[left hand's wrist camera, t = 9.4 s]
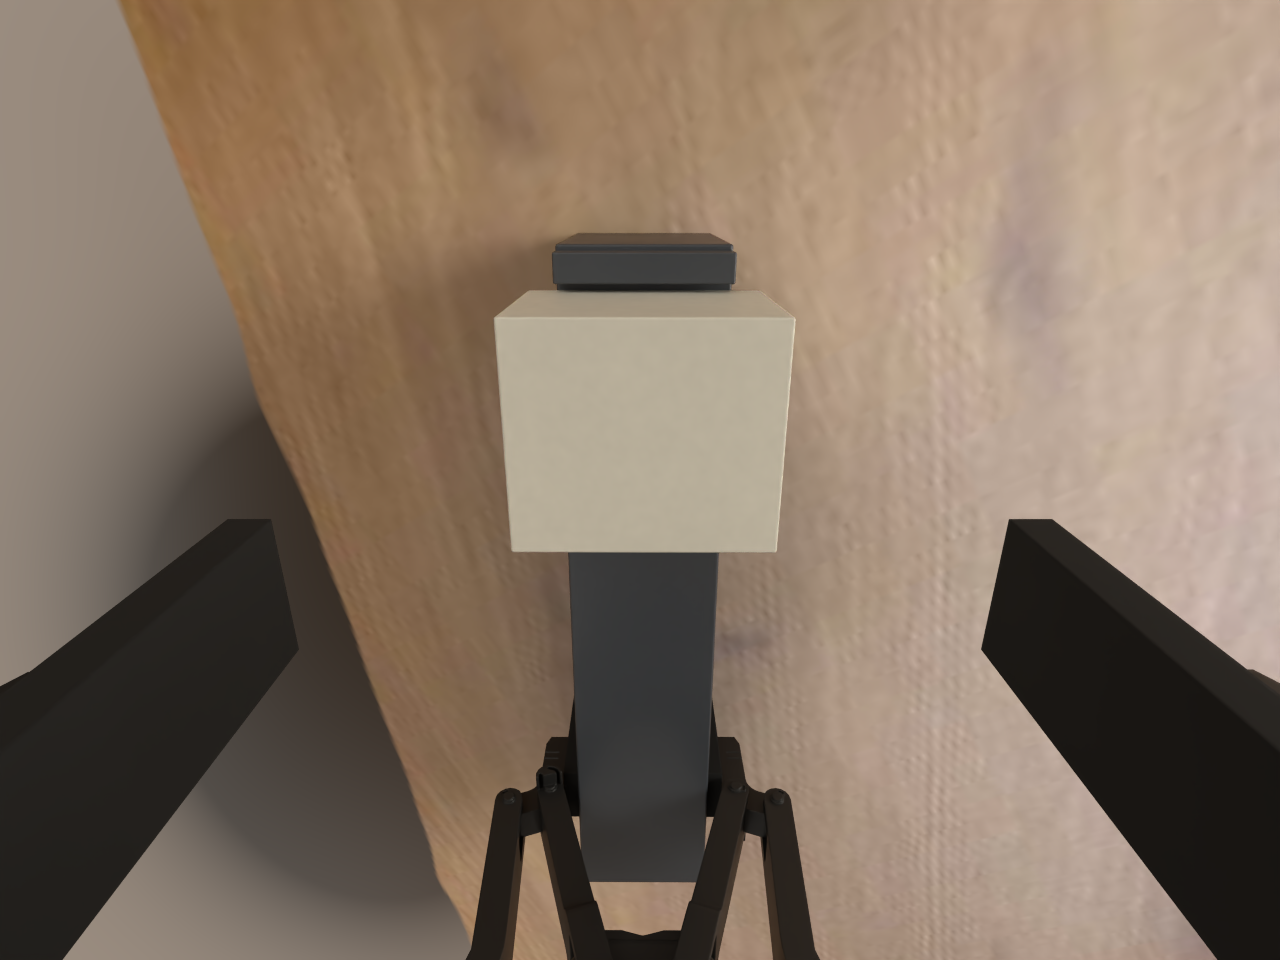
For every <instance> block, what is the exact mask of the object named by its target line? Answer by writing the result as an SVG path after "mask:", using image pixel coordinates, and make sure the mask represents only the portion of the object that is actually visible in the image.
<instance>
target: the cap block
mask: <svg viewBox="0 0 1280 960" xmlns="http://www.w3.org/2000/svg"><path fill="white" fill-rule="evenodd" d="M494 330H495V343H496V356H497V369H498V382H499V396H500V409H501V422H502V435H503V448H504V461H505V474H506V487H507V501H508V514H509V527H510V540H511V551H512V552H674V553H775V552H776V551H777V540H778V527H779V515H780V503H781V491H782V479H783V466H784V454H785V442H786V430H787V418H788V405H789V393H790V381H791V369H792V357H793V344H794V332H795V317H793V316H792V315H791V314H789V313H788V312H787V311H786V310H784V309H783V308H782V307H780V306H779V305H778V304H777V303H775V302H774V301H773V300H771V299H770V298H769V297H768V296H766V295H765V294H764V293H762V292H761V291H759V290H529V291H527V292H526V293H525V294H523V295H522V296H521V297H520V298H518V299H517V300H516V301H514V302H513V303H512V304H511V305H509V306H508V307H507V308H506V309H504V310H503V311H502V312H501V313H499V314H498V315H497V316H496V317H494Z"/></svg>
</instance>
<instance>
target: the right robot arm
mask: <svg viewBox="0 0 1280 960" xmlns="http://www.w3.org/2000/svg"><path fill="white" fill-rule="evenodd" d="M536 782H537V786H536V787H535V788H534V789H532V790H530V791H527V792H523V793H521V792H520V791H519V790H517V789H515V788H508V789H504V790H502V791H500V792H499V793H498V794H497V796H496V799H495V805H494V811H493V817H492V823H491V829H490V836H489V842H488V848H487V854H486V860H485V867H484V873H483V879H482V885H481V891H480V898H479V904H478V910H477V916H476V922H475V928H474V935H473V941H472V947H471V950H470V952H469V954H468V956H467V958H466V960H512V959H513V949H514V940H515V930H516V921H517V911H518V901H519V892H520V882H521V873H522V863H523V854H524V844H525V836H529V835H532V834H536V833H539V832H541V837H542V841H543V846H544V851H545V855H546V860H547V864H548V869H549V874H550V878H551V883H552V888H553V892H554V897H555V902H556V906H557V911H558V916H559V920H560V925H561V929H562V934H563V939H564V943H565V948H566V953H567V960H718V956H719V951H720V946H721V941H722V937H723V932H724V928H725V923H726V918H727V914H728V909H729V904H730V900H731V895H732V891H733V886H734V881H735V877H736V872H737V868H738V863H739V858H740V854H741V849H742V844H743V841H745V833H750V834H753V835H756V836H760V837H761V847H762V857H763V866H764V876H765V885H766V895H767V905H768V914H769V924H770V933H771V943H772V952H773V960H820V959H819V957H818V955H817V953H816V951H815V947H814V941H813V935H812V929H811V923H810V916H809V910H808V904H807V898H806V892H805V885H804V879H803V873H802V867H801V861H800V854H799V848H798V842H797V836H796V829H795V823H794V817H793V811H792V805H791V799H790V797H789V795H788V794H787V793H786V792H785V791H783V790H781V789H777V788H773V789H769V790H767V791H766V793H762V792H758V791H756V790H754V789H752V788H751V787H750V786H749V785H748V784H747V782H746V779H745V774H744V768H743V762H742V757H741V751H740V745H739V743H738V742H737V740H736V739H735V738H734V737H717V730H716V723H715V716H714V709H713V701H712V706H711V727H710V748H709V769H708V790H707V811H706V817H714V819H713V823H712V827H711V830H710V834H709V838H708V841H707V845H706V849H705V852H704V856H703V860H702V863H701V867H700V871H699V874H698V878H697V882H696V885H695V889H694V893H693V896H692V900H691V901H689V904H688V907H687V910H686V914H685V918H684V921H683V925H682V929H681V931H678V930H664V931H660V932H656V933H652V934H648V935H644V936H642V935H638V934H634V933H630V932H626V931H623V930H604V926H603V922H602V919H601V915H600V911H599V908H598V904H597V902H596V901H595V900H594V897H593V894H592V890H591V886H590V883H589V879H588V875H587V872H586V868H585V864H584V860H583V857H582V853H581V849H580V846H579V842H578V838H577V835H576V831H575V827H574V824H573V820H572V816H579V794H578V770H577V747H576V723H575V699H574V700H573V708H572V715H571V722H570V729H569V737H551V739H550V740H549V742H548V743H547V745H546V751H545V756H544V762H543V767H541V768H540V769H539V770H538V771H537V773H536Z"/></svg>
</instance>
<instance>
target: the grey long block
mask: <svg viewBox="0 0 1280 960" xmlns="http://www.w3.org/2000/svg"><path fill="white" fill-rule="evenodd" d="M736 261H737V253H736V252H734V251H733V245H732V244H730V243H728V242H726V241H724V240H722V239H720V238H718V237H716V236H714V235H712V234H710V233H578V234H576V235H574V236H572V237H570V238H568V239H566V240H564V241H562V242H560V243H558V244H556V246H555V251H554V252H553V253H552V269H553V283H554V284H557V290H731V284H735V282H736ZM568 558H569V581H570V605H571V629H572V652H573V676H574V699H575V723H576V747H577V770H578V794H579V818H580V841H581V853H582V857H583V860H584V864H585V868H586V872H587V875H588V879H589V882H697V878H698V874H699V871H700V867H701V863H702V860H703V856H704V852H705V832H706V811H707V790H708V769H709V748H710V727H711V706H712V685H713V664H714V643H715V621H716V600H717V579H718V558H719V553H674V552H568Z"/></svg>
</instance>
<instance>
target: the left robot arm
mask: <svg viewBox="0 0 1280 960" xmlns="http://www.w3.org/2000/svg"><path fill="white" fill-rule="evenodd" d="M298 650H299V648H298V644H297V639H296V634H295V629H294V625H293V620H292V615H291V611H290V606H289V601H288V597H287V592H286V587H285V583H284V578H283V573H282V569H281V564H280V559H279V555H278V550H277V545H276V541H275V536H274V531H273V527H272V522H271V519H228V520H226V521H225V522H224V523H222V524H221V525H220V526H219V527H217V528H216V529H215V530H213V531H212V532H211V533H209V534H208V535H207V536H205V537H204V538H203V539H202V540H200V541H199V542H198V543H196V544H195V545H194V546H192V547H191V548H190V549H189V550H187V551H186V552H185V553H183V554H182V555H181V556H179V557H178V558H177V559H176V560H174V561H173V562H172V563H170V564H169V565H168V566H167V567H165V568H164V569H163V570H161V571H160V572H159V573H157V574H156V575H155V576H154V577H152V578H151V579H150V580H148V581H147V582H146V583H145V584H143V585H142V586H141V587H139V588H138V589H137V590H135V591H134V592H133V593H132V594H130V595H129V596H128V597H126V598H125V599H124V600H122V601H121V602H120V603H119V604H117V605H116V606H115V607H113V608H112V609H111V610H109V611H108V612H107V613H106V614H104V615H103V616H102V617H100V618H99V619H98V620H97V621H95V622H94V623H93V624H91V625H90V626H89V627H87V628H86V629H85V630H83V631H82V632H81V633H80V634H78V635H77V636H76V637H75V638H73V639H72V640H71V641H69V642H68V643H67V644H65V645H64V646H63V647H61V648H60V649H59V650H58V651H56V652H55V653H54V654H52V655H51V656H50V657H48V658H47V659H46V660H45V661H43V662H42V663H41V664H39V665H38V666H37V667H36V668H34V669H33V670H32V671H30V672H27V673H25V674H23V675H21V676H19V677H17V678H16V679H14V680H12V681H10V682H8V683H6V684H4V685H2V686H0V960H63V958H64V957H65V956H66V954H67V953H68V952H69V950H70V949H71V948H72V947H73V945H74V944H75V943H76V941H77V940H78V939H79V937H80V936H81V935H82V933H83V932H84V931H85V929H86V928H87V927H88V926H89V924H90V923H91V922H92V920H93V919H94V918H95V916H96V915H97V914H98V912H99V911H100V910H101V908H102V907H103V906H104V905H105V903H106V902H107V901H108V899H109V898H110V897H111V895H112V894H113V893H114V891H115V890H116V889H117V888H118V886H119V885H120V884H121V882H122V881H123V880H124V878H125V877H126V876H127V874H128V873H129V872H130V870H131V869H132V868H133V867H134V865H135V864H136V863H137V861H138V860H139V859H140V857H141V856H142V855H143V853H144V852H145V851H146V849H147V848H148V847H149V846H150V844H151V843H152V842H153V840H154V839H155V838H156V836H157V835H158V834H159V832H160V831H161V830H162V828H163V827H164V826H165V824H166V823H167V822H168V821H169V819H170V818H171V817H172V815H173V814H174V813H175V811H176V810H177V809H178V807H179V806H180V805H181V803H182V802H183V801H184V800H185V798H186V797H187V796H188V794H189V793H190V792H191V790H192V789H193V788H194V786H195V785H196V784H197V782H198V781H199V780H200V778H201V777H202V776H203V775H204V773H205V772H206V771H207V769H208V768H209V767H210V765H211V764H212V763H213V761H214V760H215V759H216V758H217V756H218V755H219V753H220V752H221V751H222V750H223V748H224V747H225V746H226V744H227V743H228V742H229V740H230V739H231V738H232V737H233V735H234V734H235V733H236V731H237V730H238V729H239V727H240V726H241V725H242V723H243V722H244V721H245V719H246V718H247V717H248V716H249V714H250V713H251V712H252V710H253V709H254V708H255V706H256V705H257V704H258V702H259V701H260V700H261V698H262V697H263V696H264V695H265V693H266V692H267V691H268V689H269V688H270V687H271V685H272V684H273V683H274V681H275V680H276V679H277V677H278V676H279V675H280V674H281V672H282V671H283V670H284V668H285V667H286V666H287V664H288V663H289V662H290V660H291V659H292V658H293V656H294V655H295V654H296V653H297V651H298ZM981 650H982V651H983V653H984V654H985V655H986V656H987V658H988V659H989V660H990V662H991V663H992V664H993V666H994V667H995V668H996V670H997V671H998V672H999V674H1000V675H1001V676H1002V677H1003V679H1004V680H1005V681H1006V683H1007V684H1008V685H1009V687H1010V688H1011V689H1012V691H1013V692H1014V693H1015V695H1016V696H1017V697H1018V698H1019V700H1020V701H1021V702H1022V704H1023V705H1024V706H1025V708H1026V709H1027V710H1028V712H1029V713H1030V714H1031V716H1032V717H1033V718H1034V719H1035V721H1036V722H1037V723H1038V725H1039V726H1040V727H1041V729H1042V730H1043V731H1044V733H1045V734H1046V735H1047V737H1048V738H1049V739H1050V740H1051V742H1052V743H1053V744H1054V746H1055V747H1056V748H1057V750H1058V751H1059V752H1060V754H1061V755H1062V756H1063V758H1064V759H1065V760H1066V761H1067V763H1068V764H1069V765H1070V767H1071V768H1072V769H1073V771H1074V772H1075V773H1076V775H1077V776H1078V777H1079V779H1080V780H1081V781H1082V782H1083V784H1084V785H1085V786H1086V788H1087V789H1088V790H1089V792H1090V793H1091V794H1092V796H1093V797H1094V798H1095V800H1096V801H1097V802H1098V803H1099V805H1100V806H1101V807H1102V809H1103V810H1104V811H1105V813H1106V814H1107V815H1108V817H1109V818H1110V819H1111V821H1112V822H1113V823H1114V824H1115V826H1116V827H1117V828H1118V830H1119V831H1120V832H1121V834H1122V835H1123V836H1124V838H1125V839H1126V840H1127V842H1128V843H1129V844H1130V846H1131V847H1132V848H1133V849H1134V851H1135V852H1136V853H1137V855H1138V856H1139V857H1140V859H1141V860H1142V861H1143V863H1144V864H1145V865H1146V867H1147V868H1148V869H1149V870H1150V872H1151V873H1152V874H1153V876H1154V877H1155V878H1156V880H1157V881H1158V882H1159V884H1160V885H1161V886H1162V888H1163V889H1164V890H1165V891H1166V893H1167V894H1168V895H1169V897H1170V898H1171V899H1172V901H1173V902H1174V903H1175V905H1176V906H1177V907H1178V909H1179V910H1180V911H1181V912H1182V914H1183V915H1184V916H1185V918H1186V919H1187V920H1188V922H1189V923H1190V924H1191V926H1192V927H1193V928H1194V930H1195V931H1196V932H1197V933H1198V935H1199V936H1200V937H1201V939H1202V940H1203V941H1204V943H1205V944H1206V945H1207V947H1208V948H1209V949H1210V951H1211V952H1212V953H1213V954H1214V956H1215V957H1216V958H1217V960H1280V683H1278V682H1276V681H1274V680H1272V679H1270V678H1269V677H1267V676H1265V675H1263V674H1261V673H1259V672H1257V671H1255V670H1247V669H1246V668H1245V667H1243V666H1242V665H1241V664H1239V663H1238V662H1237V661H1235V660H1234V659H1233V658H1232V657H1230V656H1229V655H1228V654H1226V653H1225V652H1224V651H1222V650H1221V649H1220V648H1219V647H1217V646H1216V645H1215V644H1213V643H1212V642H1211V641H1209V640H1208V639H1207V638H1206V637H1204V636H1203V635H1202V634H1200V633H1199V632H1198V631H1197V630H1195V629H1194V628H1193V627H1191V626H1190V625H1189V624H1187V623H1186V622H1185V621H1184V620H1182V619H1181V618H1180V617H1178V616H1177V615H1176V614H1174V613H1173V612H1172V611H1171V610H1169V609H1168V608H1167V607H1165V606H1164V605H1163V604H1161V603H1160V602H1159V601H1158V600H1156V599H1155V598H1154V597H1152V596H1151V595H1150V594H1149V593H1147V592H1146V591H1145V590H1143V589H1142V588H1141V587H1139V586H1138V585H1137V584H1136V583H1134V582H1133V581H1132V580H1130V579H1129V578H1128V577H1126V576H1125V575H1124V574H1123V573H1121V572H1120V571H1119V570H1117V569H1116V568H1115V567H1113V566H1112V565H1111V564H1110V563H1108V562H1107V561H1106V560H1104V559H1103V558H1102V557H1100V556H1099V555H1098V554H1097V553H1095V552H1094V551H1093V550H1091V549H1090V548H1089V547H1088V546H1086V545H1085V544H1084V543H1082V542H1081V541H1080V540H1078V539H1077V538H1076V537H1075V536H1073V535H1072V534H1071V533H1069V532H1068V531H1067V530H1065V529H1064V528H1063V527H1062V526H1060V525H1059V524H1058V523H1056V522H1055V521H1054V520H1052V519H1009V522H1008V527H1007V531H1006V536H1005V541H1004V545H1003V550H1002V555H1001V559H1000V564H999V569H998V573H997V578H996V583H995V587H994V592H993V597H992V601H991V606H990V611H989V615H988V620H987V625H986V629H985V634H984V639H983V643H982V648H981Z"/></svg>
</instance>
